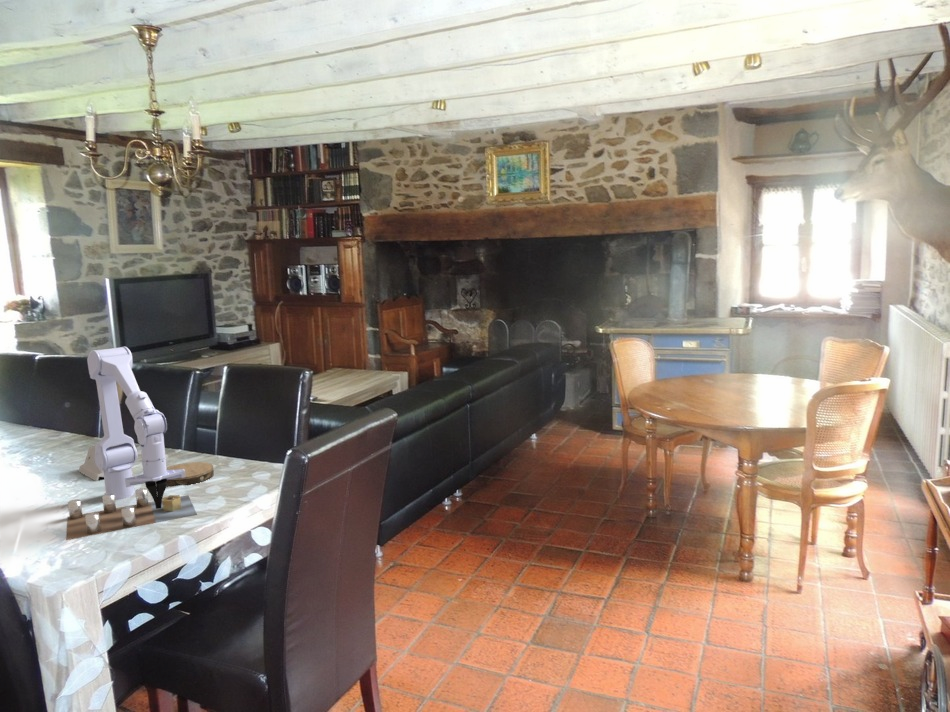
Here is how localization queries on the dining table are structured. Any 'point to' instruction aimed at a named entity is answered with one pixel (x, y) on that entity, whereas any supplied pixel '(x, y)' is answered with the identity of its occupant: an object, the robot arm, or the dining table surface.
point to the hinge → (91, 466)
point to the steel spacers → (108, 510)
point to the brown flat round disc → (192, 473)
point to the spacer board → (141, 514)
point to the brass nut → (171, 503)
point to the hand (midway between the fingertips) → (158, 507)
